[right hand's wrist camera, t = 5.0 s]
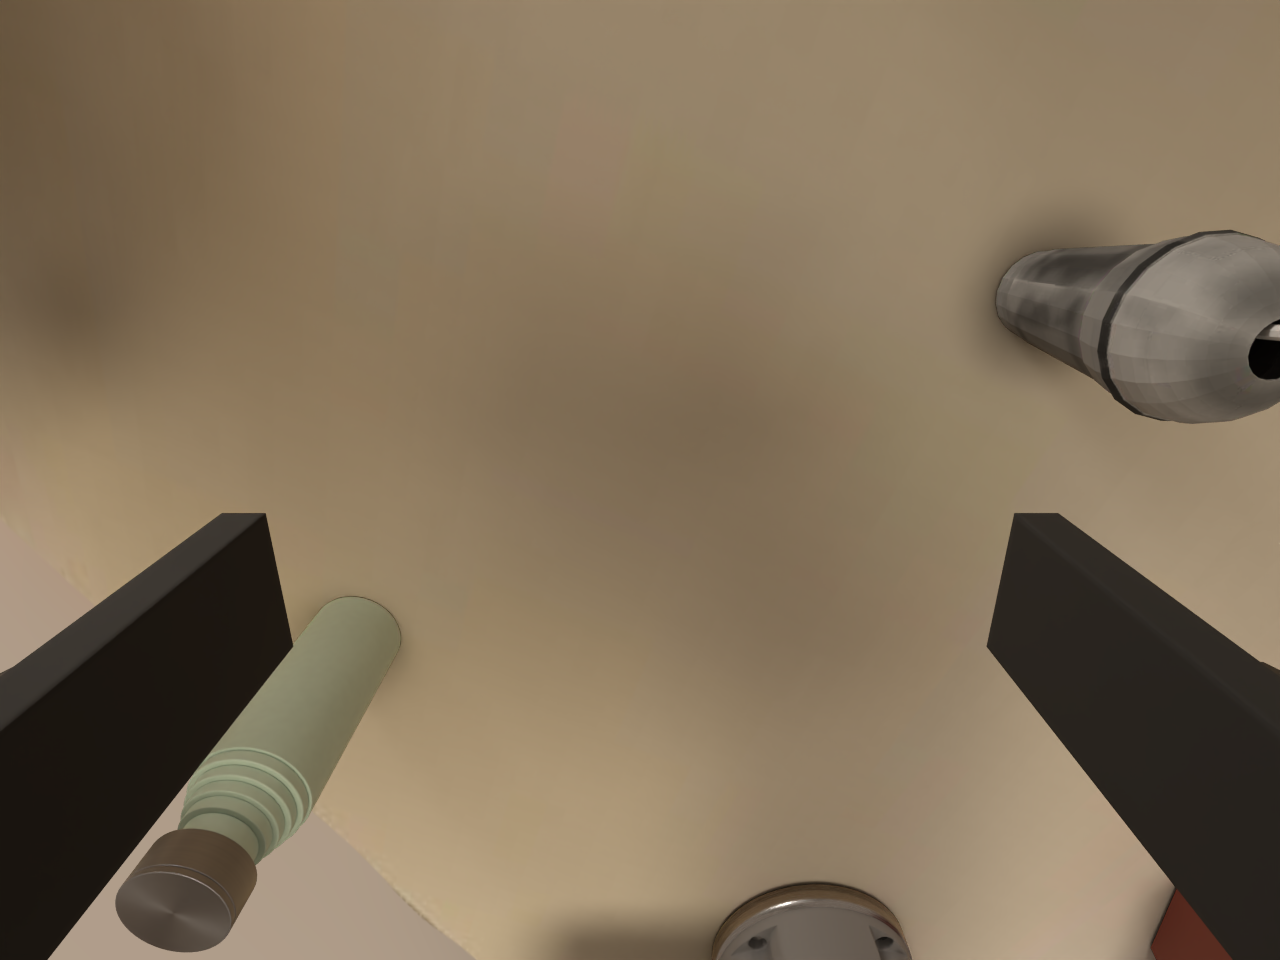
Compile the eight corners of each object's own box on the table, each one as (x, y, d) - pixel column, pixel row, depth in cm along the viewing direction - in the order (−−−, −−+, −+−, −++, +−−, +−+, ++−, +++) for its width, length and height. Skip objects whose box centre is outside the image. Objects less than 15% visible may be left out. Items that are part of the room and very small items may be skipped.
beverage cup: (998, 386, 40) (1314, 546, 21) (948, 270, 38) (1253, 334, 19) (1126, 318, 38) (1584, 425, 20) (1082, 194, 36) (1554, 182, 18)
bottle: (403, 604, 45) (250, 862, 27) (398, 675, 47) (251, 960, 29) (314, 589, 45) (100, 843, 27) (313, 663, 47) (112, 943, 29)
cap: (257, 835, 29) (229, 880, 27) (258, 911, 31) (232, 959, 29) (146, 820, 29) (110, 864, 27) (152, 898, 30) (119, 945, 28)
